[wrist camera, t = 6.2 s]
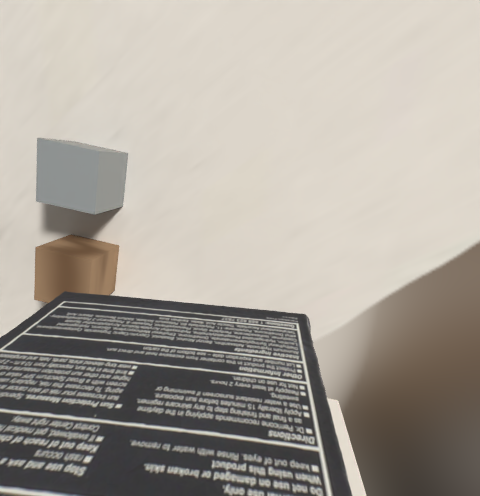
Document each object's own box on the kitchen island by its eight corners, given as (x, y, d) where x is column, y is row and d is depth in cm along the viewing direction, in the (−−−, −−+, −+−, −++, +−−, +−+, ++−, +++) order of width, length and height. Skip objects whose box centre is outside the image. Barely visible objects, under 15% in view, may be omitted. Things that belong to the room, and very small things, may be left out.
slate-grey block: (73, 195, 30) (36, 201, 25) (76, 141, 28) (37, 137, 24) (123, 206, 30) (95, 214, 25) (128, 153, 28) (99, 151, 24)
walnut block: (69, 279, 32) (34, 299, 28) (71, 234, 31) (35, 247, 26) (114, 290, 32) (87, 312, 27) (119, 245, 31) (91, 260, 26)
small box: (74, 411, 15) (-327, 934, 5) (61, 286, 13) (-624, 706, 3) (294, 437, 14) (360, 1104, 4) (311, 310, 12) (505, 947, 2)
